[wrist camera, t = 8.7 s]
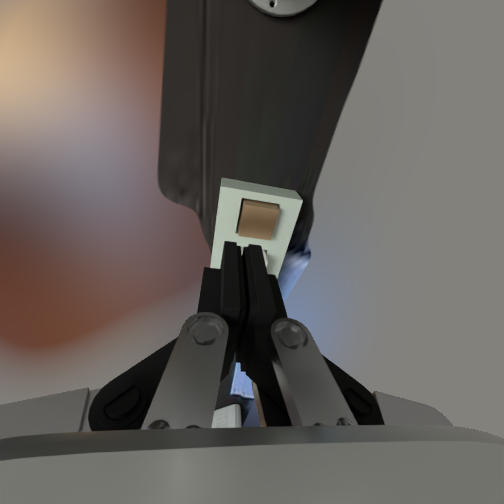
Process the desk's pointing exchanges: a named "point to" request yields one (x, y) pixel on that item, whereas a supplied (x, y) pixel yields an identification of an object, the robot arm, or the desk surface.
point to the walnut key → (257, 219)
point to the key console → (229, 214)
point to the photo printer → (227, 417)
